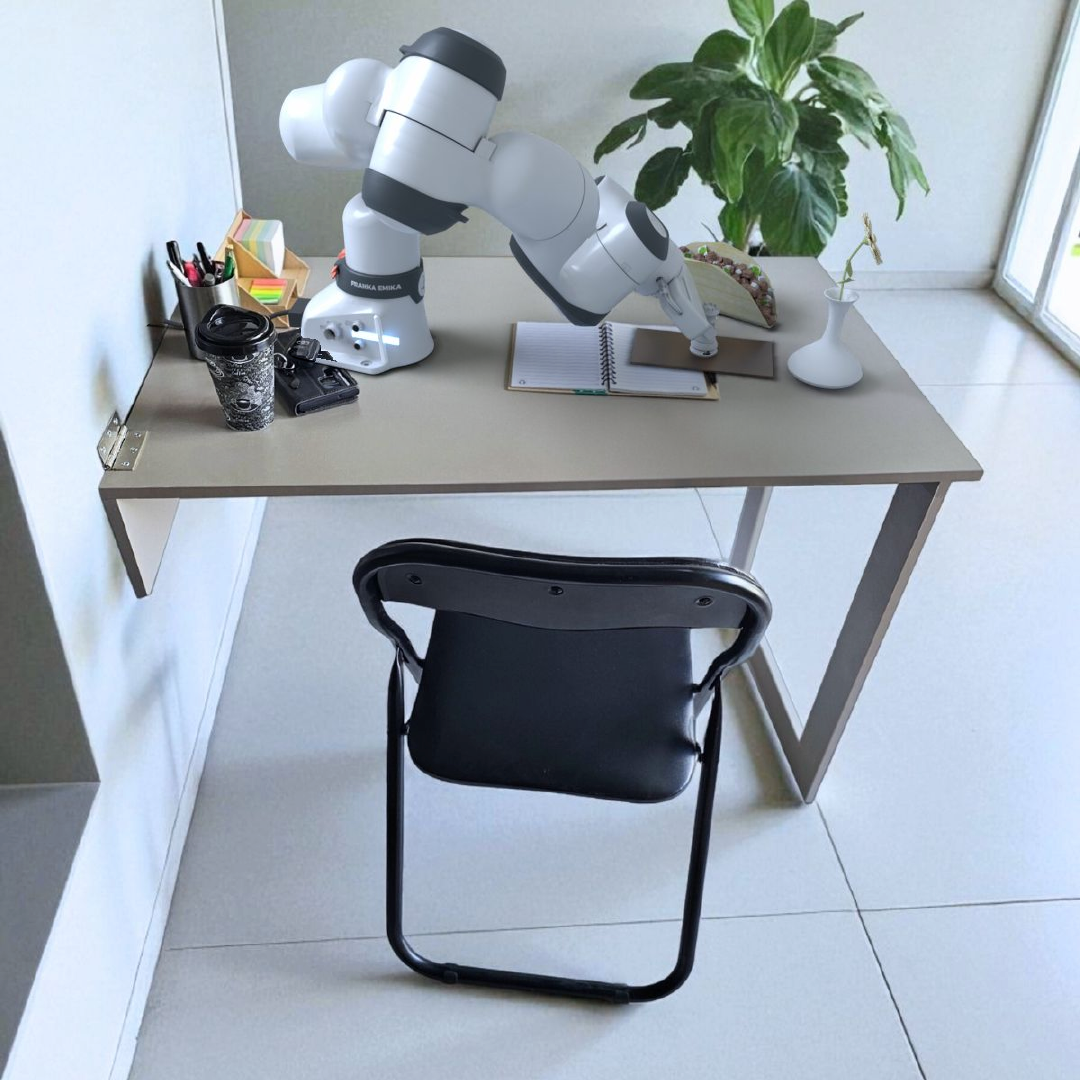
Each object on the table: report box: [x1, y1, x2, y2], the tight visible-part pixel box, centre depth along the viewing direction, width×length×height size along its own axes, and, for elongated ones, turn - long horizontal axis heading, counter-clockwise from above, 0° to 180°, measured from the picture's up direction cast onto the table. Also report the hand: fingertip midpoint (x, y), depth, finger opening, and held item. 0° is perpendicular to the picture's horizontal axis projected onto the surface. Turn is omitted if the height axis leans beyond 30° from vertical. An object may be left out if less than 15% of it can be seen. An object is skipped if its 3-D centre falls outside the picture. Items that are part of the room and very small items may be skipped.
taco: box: [678, 241, 778, 329], centre depth 177 cm, size 10×27×10 cm, turn 56°
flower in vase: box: [786, 211, 884, 390], centre depth 154 cm, size 13×11×25 cm
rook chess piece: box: [690, 302, 720, 358], centre depth 163 cm, size 4×4×8 cm
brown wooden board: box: [629, 327, 774, 380], centre depth 166 cm, size 22×12×1 cm, turn 81°
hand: (710, 327), depth 163 cm, fingers open, 4 cm apart
